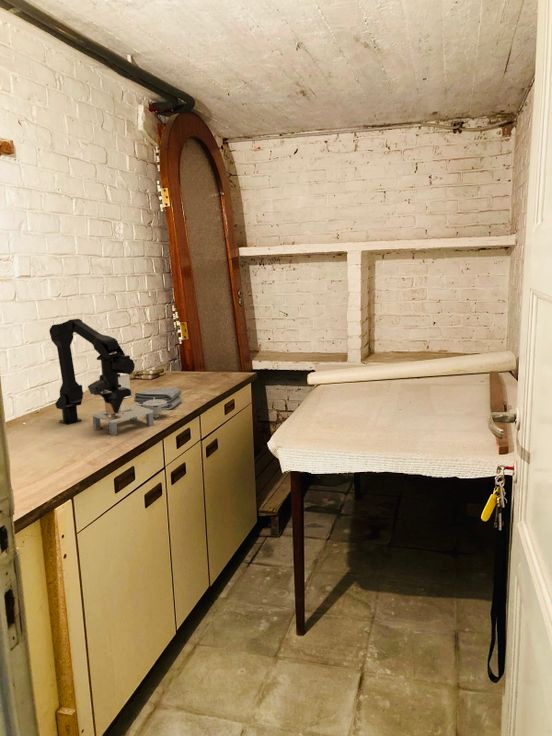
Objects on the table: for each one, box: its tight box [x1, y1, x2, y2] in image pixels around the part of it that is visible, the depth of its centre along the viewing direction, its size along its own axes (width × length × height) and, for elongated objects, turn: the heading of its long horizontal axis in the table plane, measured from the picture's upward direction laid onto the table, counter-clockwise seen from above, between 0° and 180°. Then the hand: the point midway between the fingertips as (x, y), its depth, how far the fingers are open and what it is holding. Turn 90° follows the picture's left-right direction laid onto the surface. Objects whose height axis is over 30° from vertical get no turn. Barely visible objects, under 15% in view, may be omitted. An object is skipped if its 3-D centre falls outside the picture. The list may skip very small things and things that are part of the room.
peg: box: [104, 401, 121, 423], centre depth 216 cm, size 4×4×8 cm
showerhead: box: [143, 398, 167, 419], centre depth 232 cm, size 9×7×10 cm
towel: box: [133, 386, 183, 411], centre depth 250 cm, size 15×18×8 cm
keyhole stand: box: [92, 403, 155, 437], centre depth 220 cm, size 14×18×6 cm
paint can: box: [118, 373, 132, 399], centre depth 267 cm, size 10×9×20 cm
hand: (113, 412), depth 216 cm, fingers closed on peg, 4 cm apart
